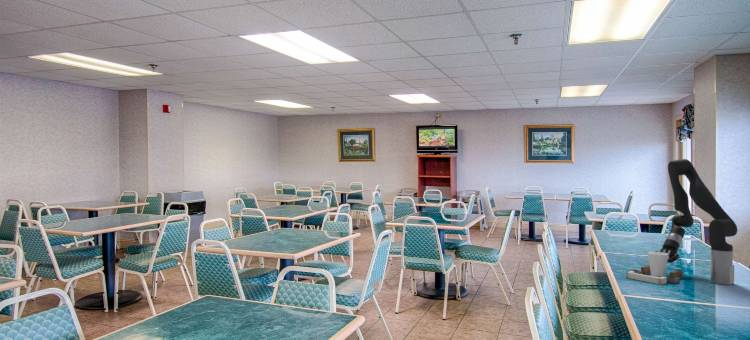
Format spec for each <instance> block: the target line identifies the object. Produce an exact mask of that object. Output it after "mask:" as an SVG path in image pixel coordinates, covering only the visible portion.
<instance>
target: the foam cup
mask: <svg viewBox="0 0 750 340" xmlns="http://www.w3.org/2000/svg"><path fill="white" fill-rule="evenodd" d="M647 257H648V263H649V264H648V265H650V272H651V273H650V276H652V277H658V278H661V277H666V271H667V264H668V263H667V260H668V254H667V253H662V252H655V251H649V252H647Z"/></svg>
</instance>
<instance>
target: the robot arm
mask: <svg viewBox="0 0 750 340" xmlns="http://www.w3.org/2000/svg"><path fill="white" fill-rule="evenodd" d="M667 171H668V177H669V182H670V184H671V189H672V193H673V202H674V211H676V212H680V213H682V214H674V215H673V216H672V217H671V226H670V227H671V228H670V231H669V232H668V234H667V236H666V239H664V243H663V245H662V247H661V249H660V250H655V251H654V252H662V253H667V254H668V260H667V264H669V263H670V264H671V263H674V262H675V261H677V260H679V259H681V257H680V255H679V253H678V251H679V250H680V246H681V245H682V242H683V239H684V236H685V234H686V230H685V229H684V228H692V227H693V225H694V218H693V215H692V213H691V210H690V205H689V204H690V203H689V202H690V201H689V197H690V198H691V199H692V201H693V203H694V204H695V205H696V206H697V207H698V208H699V209H700V210H702V211H704V213H705V212H706V213H707V214H709V215H710V217H711V218H713V219H712V220H711V221H710V222H709V224H708V239H709V241H708V242H709V244H710V282H711V283H714V284H719V285H727V286H730V285H733V284H735V264H734V262H733V261H734V256H733V255H734V247H733V245H732V244H730V243H728V242H727V241H726V238H727V237H728V238H729V237H734V236H736V235H737V233H738V226H737V223H736V222H735V221H734V220H733V219H732V217H731V216H730V215H729V214H728V213H727V212H726V211H725V209H723V208H722V206H721V204H720V203H719V202H718V201H717V200H716V198H715V197H714V195H713V194H712V192H711V191H710V189H709V188H708V187H707V186H706V184H705V183H704V182H703V180H702V178H700V176H699V174H698V172H697V170H696V169H695V167H694V165H693V163H692V162H691V161H690V160H689V159H686V158H682V159H674V160H670V161H669V162H668V165H667ZM680 176H685V177H686V179H687V180H688V182H689V187H688V189H689V190H688V193H687V191H686V190H685V189H684V187H683V186H682V184H681V182H680ZM733 264H734V265H733Z"/></svg>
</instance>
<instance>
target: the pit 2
mask: <svg viewBox="0 0 750 340" xmlns="http://www.w3.org/2000/svg"><path fill="white" fill-rule="evenodd" d="M665 277H667V283H666V284H673V285H676V284H680V279H681V278H678V277H672V276H670V275H665Z"/></svg>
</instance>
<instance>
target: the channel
mask: <svg viewBox="0 0 750 340" xmlns="http://www.w3.org/2000/svg"><path fill="white" fill-rule="evenodd" d="M640 271H643V275H648V274H650V275H651V272H650V264H647V265H643V266H641V267H640ZM669 276H672V277H678V278H680V279H682V278H683V269H676V270H673V271H672V270H671V271H669Z"/></svg>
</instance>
